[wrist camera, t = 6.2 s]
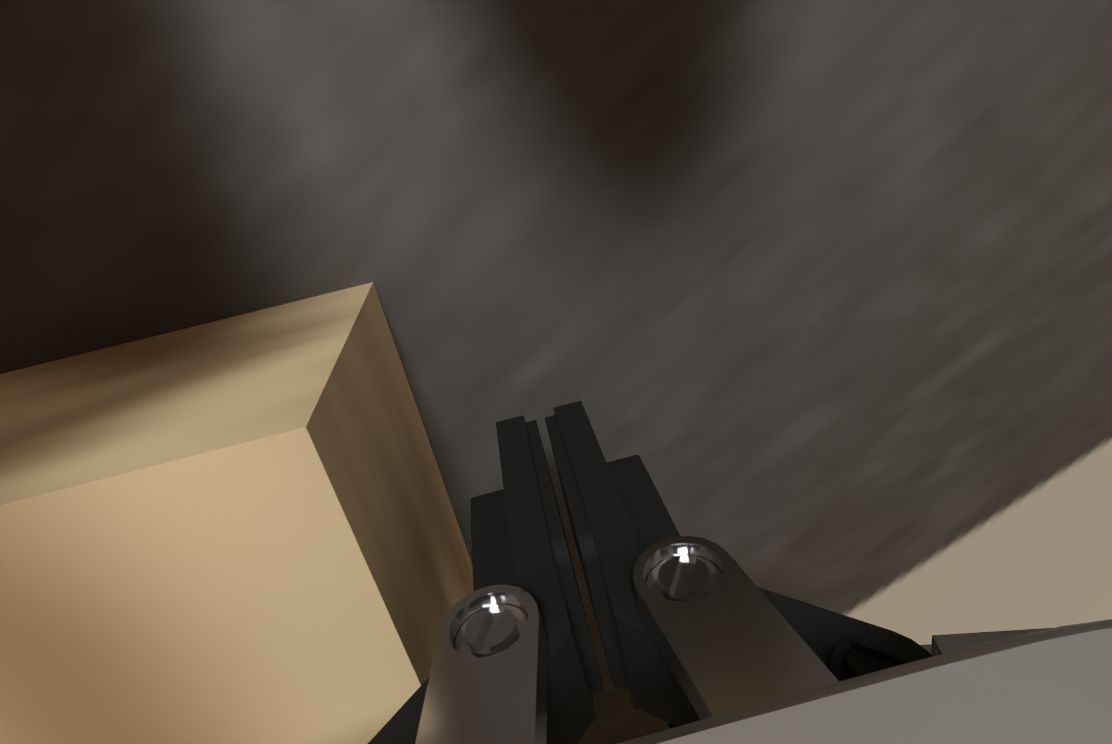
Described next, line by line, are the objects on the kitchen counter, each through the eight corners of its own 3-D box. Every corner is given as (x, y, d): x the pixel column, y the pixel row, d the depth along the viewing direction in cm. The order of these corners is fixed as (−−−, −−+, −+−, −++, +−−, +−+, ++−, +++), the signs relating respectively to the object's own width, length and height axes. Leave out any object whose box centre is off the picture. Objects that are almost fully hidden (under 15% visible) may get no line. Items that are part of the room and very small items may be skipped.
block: (373, 281, 12) (305, 427, 7) (478, 582, 16) (490, 839, 10) (-36, 382, 12) (-453, 620, 6) (162, 667, 15) (-2, 982, 10)
